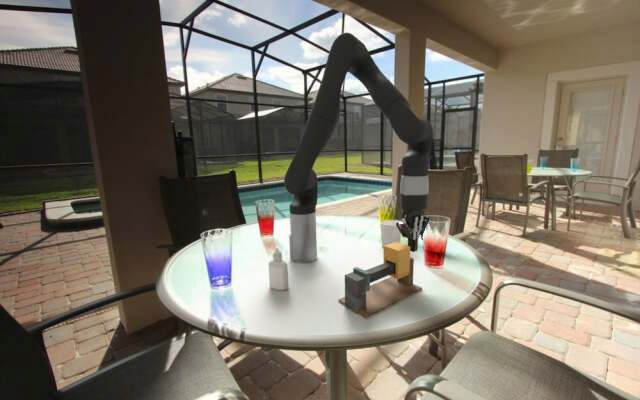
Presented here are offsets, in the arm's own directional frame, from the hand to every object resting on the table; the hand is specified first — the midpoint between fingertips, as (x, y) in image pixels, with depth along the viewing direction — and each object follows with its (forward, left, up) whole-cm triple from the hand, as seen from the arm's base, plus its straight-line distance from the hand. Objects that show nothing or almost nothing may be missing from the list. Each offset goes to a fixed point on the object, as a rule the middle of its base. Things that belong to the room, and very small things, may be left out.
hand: (412, 250), depth 85 cm
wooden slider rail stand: (-9, -9, -10) cm, 16 cm away
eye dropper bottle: (-38, -7, -10) cm, 40 cm away
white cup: (-3, +30, -10) cm, 31 cm away
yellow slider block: (-5, -5, -5) cm, 9 cm away
